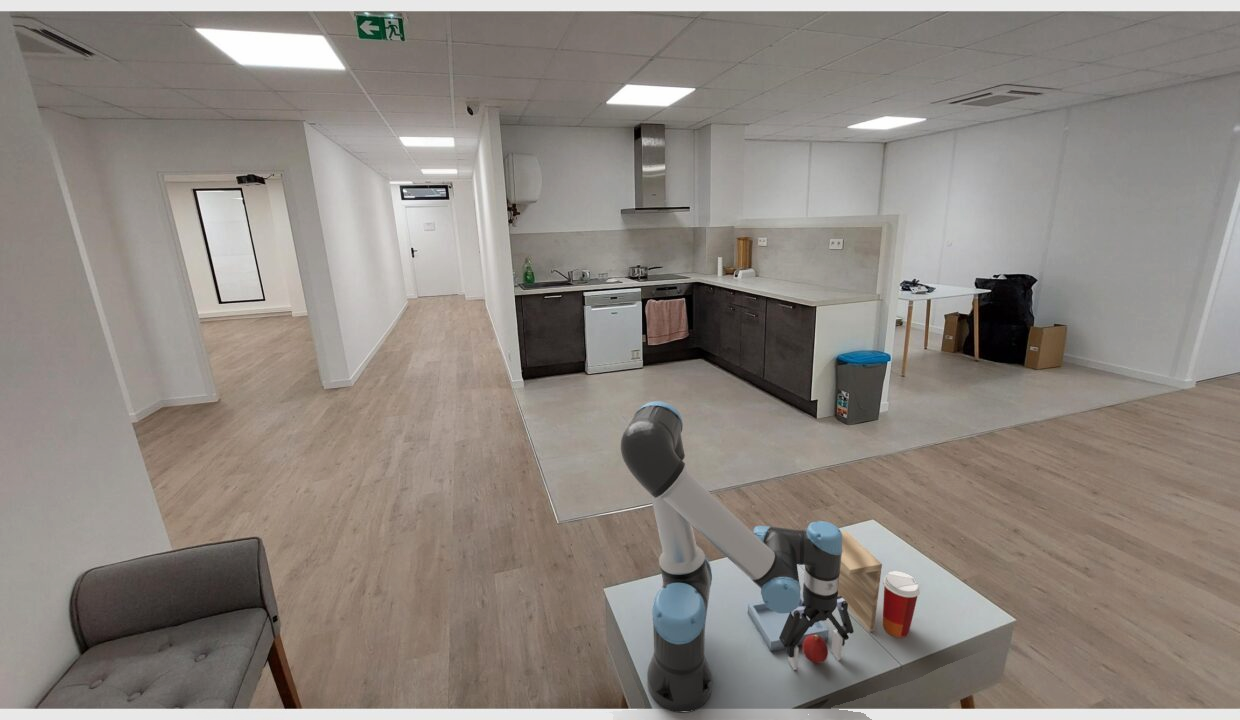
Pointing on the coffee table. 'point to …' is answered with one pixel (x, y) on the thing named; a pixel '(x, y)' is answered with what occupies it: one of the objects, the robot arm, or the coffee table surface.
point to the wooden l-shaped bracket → (859, 580)
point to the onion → (815, 648)
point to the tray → (779, 625)
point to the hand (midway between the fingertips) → (814, 660)
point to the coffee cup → (899, 603)
